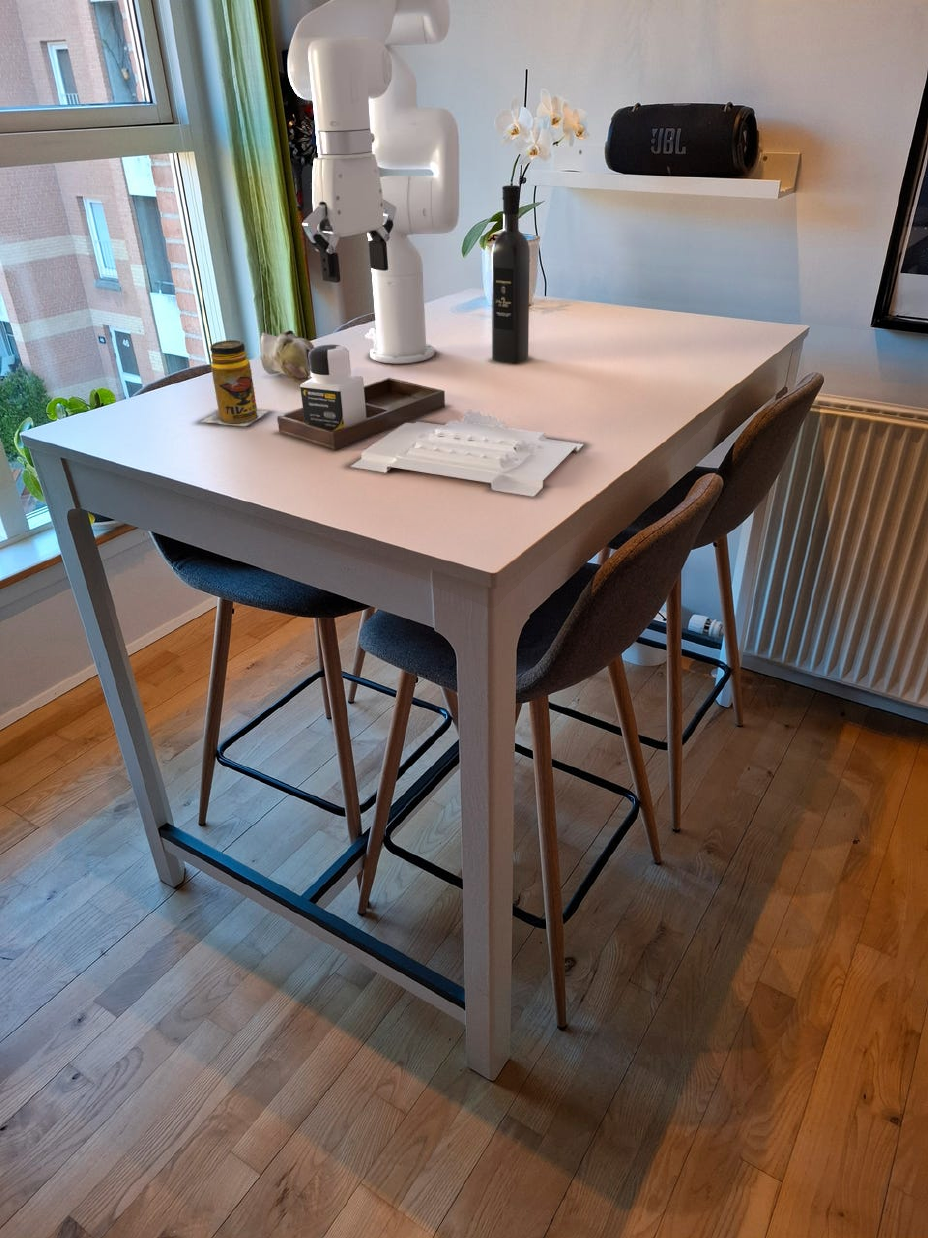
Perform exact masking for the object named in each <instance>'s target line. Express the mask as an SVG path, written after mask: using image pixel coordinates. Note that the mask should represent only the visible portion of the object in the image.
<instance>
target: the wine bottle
mask: <svg viewBox="0 0 928 1238" xmlns="http://www.w3.org/2000/svg"><path fill="white" fill-rule="evenodd" d="M501 189H502V198H501V199H502V231H501V232H500V233H499V234H498V236H497V237H496V238H495V240H494V241H493V244H492V248H491V342H492V344H491V353H492V354H491V357H492V358H491V359H492V360H493V361H494V362H498V363H505V364H518V363H520V362H522V361H524V360H526V359H528V357H529V334H530V333H529V332H530V331H529V330H530V329H529V325H530V263H531V262H530V261H531V259H530V258H531V249H530V245H529V241H528V239H527V237H526V236H525V235H524V234H523V233H522V232H521V231H520V229H519V225H520V224H519V221H520V220H519V217H520V216H519V215H520V214H519V213H520V212H519V211H520V210H519V208H520V207H519V205H520V204H519V203H520V189H521V187H520V186H519V185H511V184H509V185H504V186H502V187H501Z"/></svg>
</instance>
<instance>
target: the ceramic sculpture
mask: <svg viewBox="0 0 928 1238" xmlns="http://www.w3.org/2000/svg"><path fill="white" fill-rule="evenodd" d="M314 348H315V346H314V344H313V342H312V341H310V340H309V339H307V338H305V337H303V336H302V337H300V336H296V334H295V333H294V331H293V330H287V331H283V332H281V333H280V334H279V335H278V336H277V335H274V334H270V333H266V332H262V333H261V335H260V356H259V358H260V362H261V367H262V369H263V370H264V372H266V373H267V374H268V375H278V374H282V375H285V376H286V377H287V378H288V379H290V380H291V381H292V382H296V383H304V382H306V381H308V380H310V378H309V376H311V371H310V363H309V352H310V350H312V349H314Z"/></svg>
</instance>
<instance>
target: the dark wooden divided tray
mask: <svg viewBox="0 0 928 1238" xmlns="http://www.w3.org/2000/svg"><path fill="white" fill-rule="evenodd" d="M364 396H365V407H366V419H365V420H362V421H359V422H357V423H354V424H351V425H349V426H346V427H343V428H341V429H338V430H336V431H331V430H327V429H324V428H321V427H317V426H314V425H311V424H307V423H305V422H304V414H303V407H301V408H300V407H299V408H297V409H294V410H291V411H288V412H285V413H283V414H279V415H277V416H276V420H277V426H278V433H279V434H281V435H284V436H288V437H291V438H294V439H297V440H300V441H303V442H307V443H310V444H312V445H313V444H314V445H316V446H319V447H322V448H325V449H329V450H332V451H337V450H340V449H342V448H345V447H348V446H351V445H352V444H355V443H358V442H360V441H363V440H365V439H367V438H371V437H373V436H375V435H377V434H380V433H383V432H385V431H388V430H390V429H392V428H395V427H397V426H398V427H399V426H401V425H403V424H405V423H409V421H412V420H415V419H417V418H420V417H423V416H425V415H427V414H430V413H433V412H435V411H437V410H440V409H442V408H445V407H446V396H445V390H442V389H438V388H435V387H430V386H426V385H422V384H417V383H414V382H409V381H405V380H401V379H396V378H392V377H387V378H383V379H381V380H378V381H375V382H373V383H370V384H366V385H364Z"/></svg>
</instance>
